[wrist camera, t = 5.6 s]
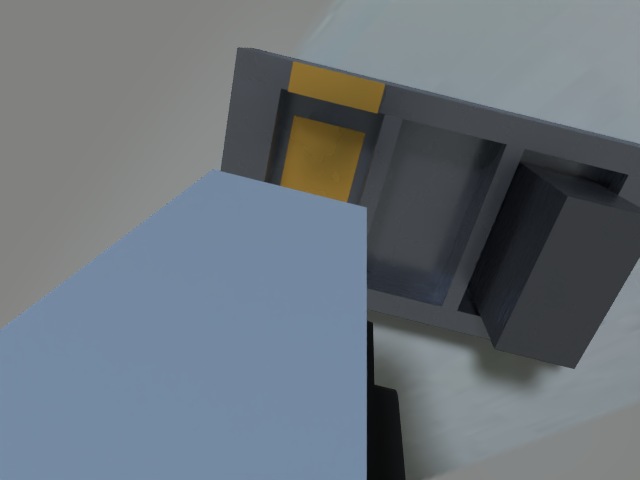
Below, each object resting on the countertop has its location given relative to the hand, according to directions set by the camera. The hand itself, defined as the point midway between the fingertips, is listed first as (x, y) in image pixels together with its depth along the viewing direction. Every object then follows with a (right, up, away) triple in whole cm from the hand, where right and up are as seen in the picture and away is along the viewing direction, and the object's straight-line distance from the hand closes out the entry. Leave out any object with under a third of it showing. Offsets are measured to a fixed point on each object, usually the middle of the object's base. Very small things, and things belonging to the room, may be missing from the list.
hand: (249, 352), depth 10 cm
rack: (+7, +5, +14) cm, 16 cm away
